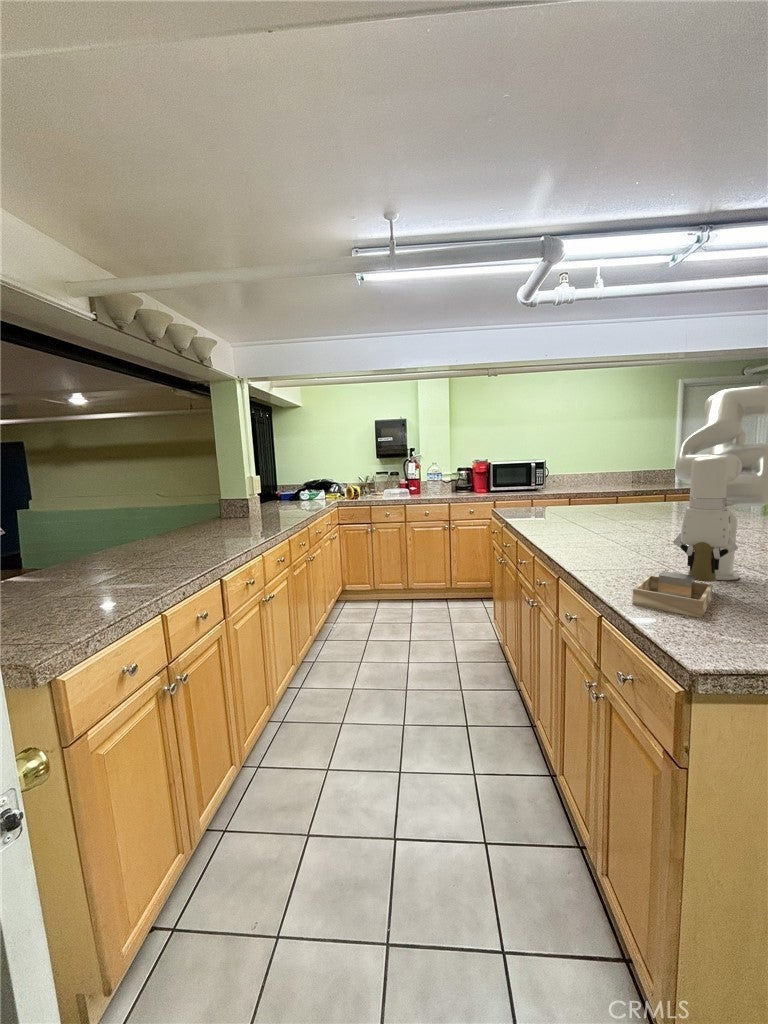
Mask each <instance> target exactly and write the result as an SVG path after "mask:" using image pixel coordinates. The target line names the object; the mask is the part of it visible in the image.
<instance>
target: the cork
mask: <svg viewBox="0 0 768 1024" xmlns="http://www.w3.org/2000/svg"><path fill="white" fill-rule="evenodd" d="M693 548H694V555H693V556H694V561H693V565H692V570H690V571H689V572H688V575H694V576H695V581H696V582H702V583H704V582H707V583H712V582H716V581H717V580H716V574H715V571H714V573H712V566H711V560H712V559H713V556H714V553H713V549H714V547H711V546H710V545H709V544H708V543H705V542H699V543H697V544H695V545H693Z"/></svg>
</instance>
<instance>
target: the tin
mask: <svg viewBox="0 0 768 1024" xmlns="http://www.w3.org/2000/svg"><path fill="white" fill-rule="evenodd" d="M658 576H659V581H658V593H663V594H669V595H675V596H680V597H686V598H691V599H693V598H694V591H695V582H696V580H695V576H694V575H689V574H687V573H679V572H674V571H672V572H671V571H666V570H663V571H661V572H660V573H659V574H658Z"/></svg>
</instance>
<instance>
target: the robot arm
mask: <svg viewBox="0 0 768 1024" xmlns="http://www.w3.org/2000/svg"><path fill="white" fill-rule="evenodd" d="M704 417H705V420H704V425H703V427H702V428H699V429H698V430H696V431H694V433H692V434H691V435H689V436H688V437H687V438H686V439H685V440H684V441H683V442H682V444H681V445H680V447H679V449H678V454H677V458H676V461H675V464H674V465H675V467H674V473H675V476H676V477H677V479H678V480H680V481H683V482H690V486H689V505H688V506H687V507H686V508H685V512H684V515H683V519H682V526H681V532H680V533H679V534H678V535H677V537H676V538H674V540H673V541H672V543H673V545H675V546H677V547H679V548H680V549H681V550H682V551H683V552H684V553H685V555H686V556H687V567H688V568H687V573H689V571H690V570H692V565H693V561H694V556H693V555H694V548H693V545H695V544H697V543H699V542H705V543H708V544H709V545H710V546H711V547H714V549H713V553H714V556H713V559H712V560H711V566H712V573H714V571H715V574H716V581H718V580H719V581H734V580H738V579H740V576H741V575H740V573H739V572H738V571H734V566H735V565H734V564H735V554H736V551H738V550H739V546H738V544H737V543H736V542H737V532H738V531H737V530H738V529H737V528H738V520H737V516H736V515H735V514H734V513H733V512H732V510H731V509H729V507H730V506H731V507H733V506H739V507H740V506H741V507H743V506H744V507H764V506H766V505H768V443H762V442H761V443H759V442H758V443H746V439H747V434H746V432H745V430H744V429H743V428H742V426H743V420H744V419H745V418H759V417H760V418H761V417H768V385H766V384H765V385H754V386H753V385H752V386H745V387H734V388H728V389H722V390H720V391H718V392H716V393H714V394H713V395H710V396H709V397H708V398H707V399H706V400H705V403H704ZM707 449H709V450H708V453H699V452H702V451H705V450H707ZM698 453H699V454H698Z"/></svg>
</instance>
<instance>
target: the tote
mask: <svg viewBox="0 0 768 1024" xmlns="http://www.w3.org/2000/svg"><path fill="white" fill-rule="evenodd" d="M658 581H659V575H657V576H656V575H653V574H652V575H651V574H648V575H647V576H646V577H645V578H643V580H642V581H641V582H639V583H638V584H637V585H636V586H635V587H634V588H633V589H632V605H636V606H641V607H645V608H651V609H656V610H660V611H665V612H670V613H674V614H675V613H676V614H679V615H686V616H690V617H695V618H700V619H702V618H703V616H704V614H705V613H706V611H707V609H708V607H709V605H710V603H711V602H712V598H713V597H712V596H713V586H714V585H713V584H708V583H704V582H698V581H695V591H694V598H693V599H691V598H686V597H680V596H675V595H669V594H663V593H658Z"/></svg>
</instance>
